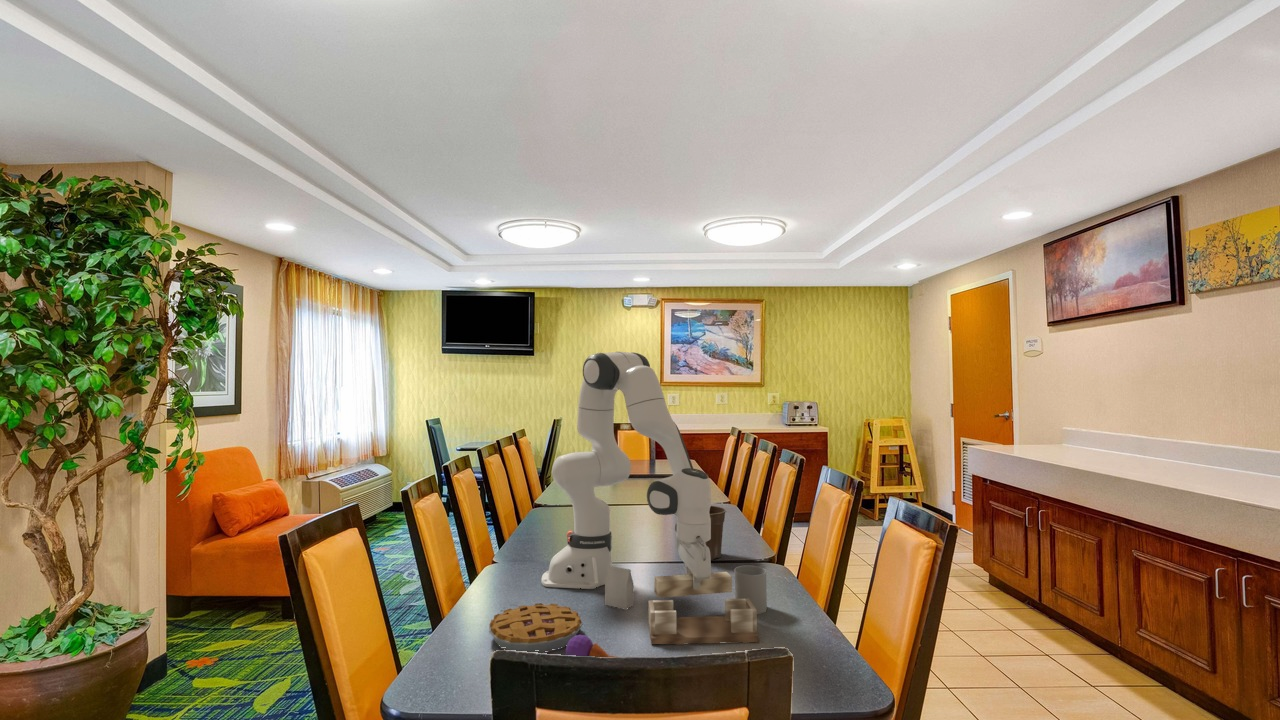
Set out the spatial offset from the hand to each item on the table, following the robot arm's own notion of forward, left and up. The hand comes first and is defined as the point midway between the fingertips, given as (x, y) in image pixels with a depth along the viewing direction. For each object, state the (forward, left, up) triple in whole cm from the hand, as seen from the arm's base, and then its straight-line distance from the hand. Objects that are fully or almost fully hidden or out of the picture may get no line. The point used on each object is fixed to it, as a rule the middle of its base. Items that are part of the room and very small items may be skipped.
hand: (693, 584), depth 155 cm
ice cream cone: (-22, -30, -8) cm, 38 cm away
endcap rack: (0, -13, -7) cm, 15 cm away
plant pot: (+11, +51, -7) cm, 53 cm away
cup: (+16, +2, -7) cm, 17 cm away
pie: (-39, -13, -8) cm, 42 cm away
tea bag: (-19, +6, -7) cm, 22 cm away
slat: (0, 0, -2) cm, 2 cm away
